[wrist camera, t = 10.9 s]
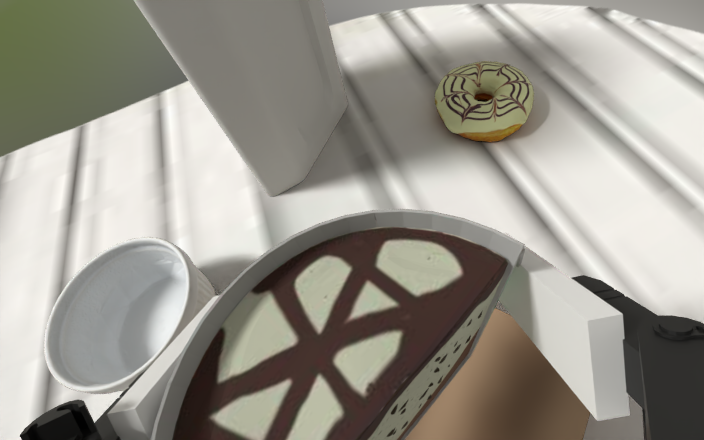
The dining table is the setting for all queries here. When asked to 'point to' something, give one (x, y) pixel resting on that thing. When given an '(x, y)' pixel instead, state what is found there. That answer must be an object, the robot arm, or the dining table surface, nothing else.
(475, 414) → the walnut stand
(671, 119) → the dining table surface
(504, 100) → the decorated donut
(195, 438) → the food container
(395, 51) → the dining table surface
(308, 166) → the white triangular vase
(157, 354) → the ramekin
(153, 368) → the robot arm
